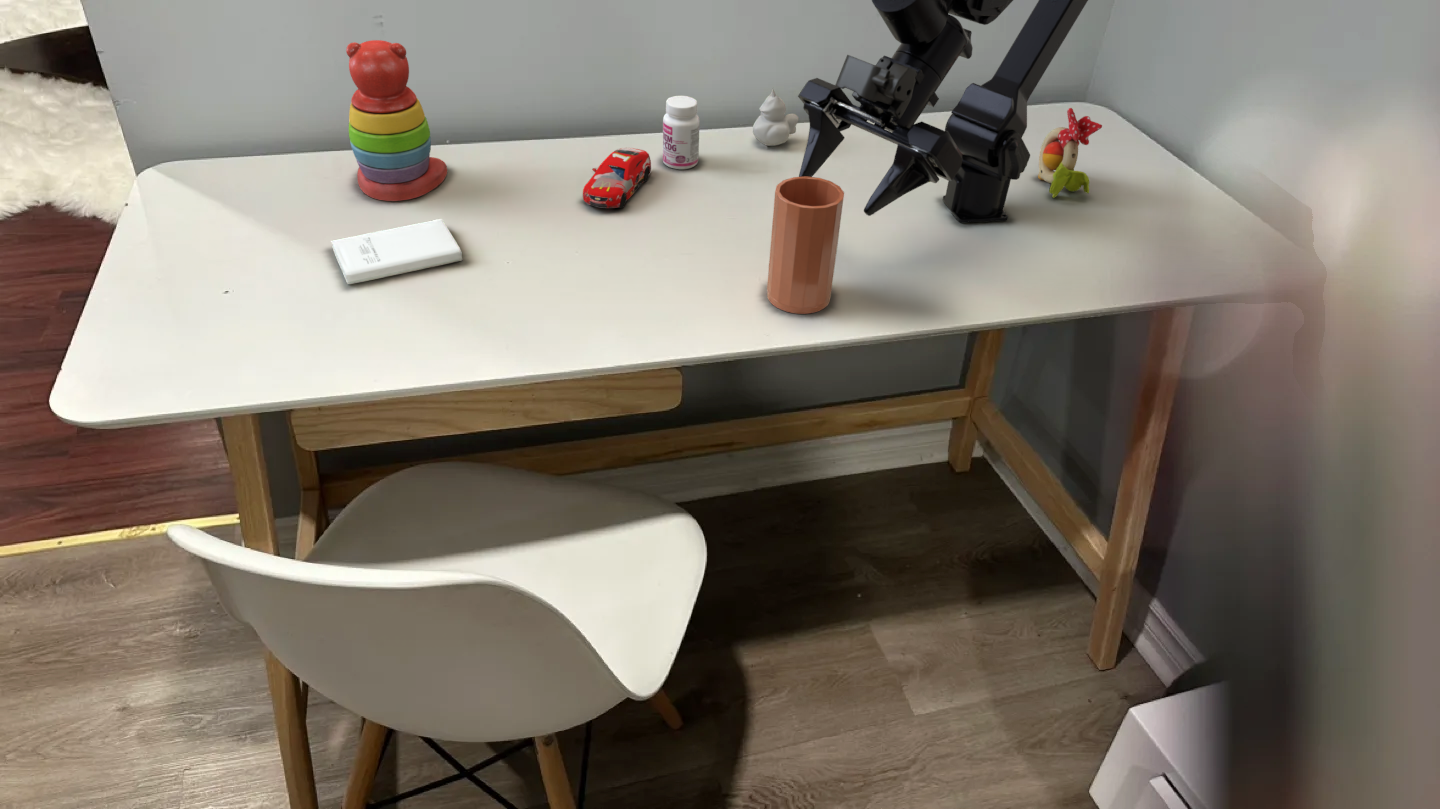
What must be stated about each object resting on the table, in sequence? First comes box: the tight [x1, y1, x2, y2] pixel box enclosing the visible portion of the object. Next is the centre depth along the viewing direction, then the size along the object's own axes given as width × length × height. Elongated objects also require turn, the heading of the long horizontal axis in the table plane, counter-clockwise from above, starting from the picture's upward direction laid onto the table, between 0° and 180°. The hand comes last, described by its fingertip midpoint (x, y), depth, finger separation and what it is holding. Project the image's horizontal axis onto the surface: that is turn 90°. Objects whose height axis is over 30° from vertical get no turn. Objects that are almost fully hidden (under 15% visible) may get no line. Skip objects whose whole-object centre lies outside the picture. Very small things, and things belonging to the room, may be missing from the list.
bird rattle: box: [1037, 107, 1103, 199], centre depth 129 cm, size 6×11×9 cm
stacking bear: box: [345, 39, 448, 202], centre depth 119 cm, size 11×10×18 cm
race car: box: [582, 147, 652, 209], centre depth 125 cm, size 13×5×4 cm, turn 161°
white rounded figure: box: [752, 87, 799, 147], centre depth 137 cm, size 5×7×8 cm
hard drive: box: [330, 218, 463, 285], centre depth 111 cm, size 2×8×12 cm
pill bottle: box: [662, 95, 701, 170], centre depth 130 cm, size 5×5×8 cm
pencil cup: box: [766, 176, 845, 315], centre depth 105 cm, size 7×7×12 cm
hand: (833, 197), depth 104 cm, fingers open, 9 cm apart
